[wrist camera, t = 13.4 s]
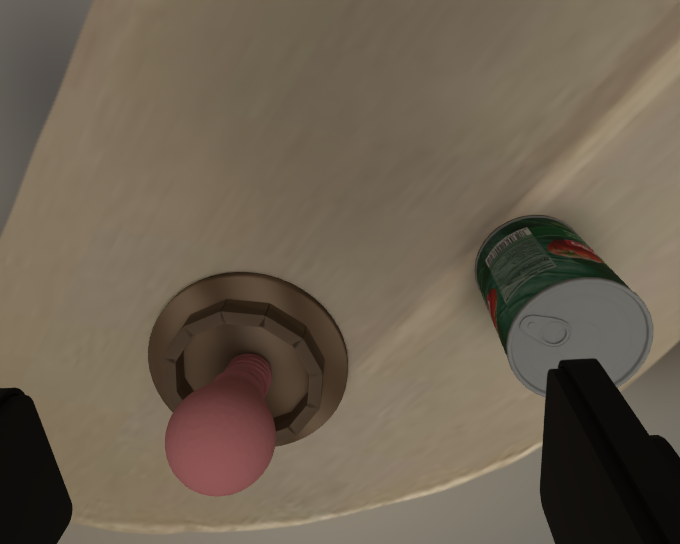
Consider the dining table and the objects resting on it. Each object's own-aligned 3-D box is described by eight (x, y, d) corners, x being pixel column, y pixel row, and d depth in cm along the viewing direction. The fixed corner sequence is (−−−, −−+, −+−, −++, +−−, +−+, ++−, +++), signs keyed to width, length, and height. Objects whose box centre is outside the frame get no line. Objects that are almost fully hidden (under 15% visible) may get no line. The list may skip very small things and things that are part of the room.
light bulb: (184, 354, 44) (123, 461, 33) (256, 312, 42) (216, 411, 31) (239, 416, 47) (198, 537, 36) (309, 379, 45) (289, 494, 34)
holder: (291, 240, 41) (286, 255, 38) (379, 404, 47) (380, 428, 44) (114, 317, 44) (97, 336, 42) (215, 462, 50) (206, 487, 47)
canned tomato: (605, 236, 40) (684, 307, 30) (551, 327, 43) (606, 419, 33) (503, 198, 39) (549, 258, 29) (456, 293, 42) (483, 377, 32)
